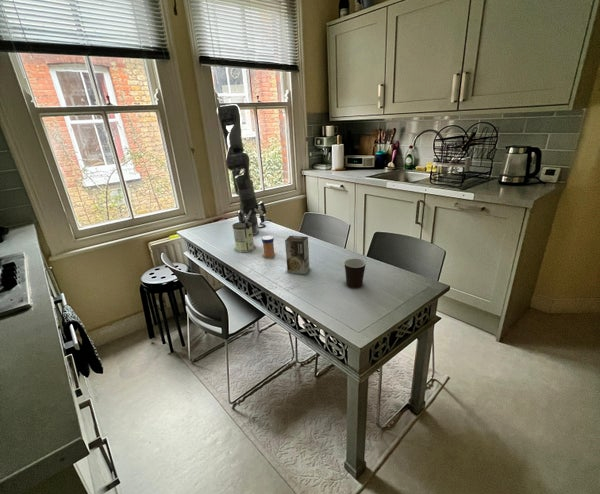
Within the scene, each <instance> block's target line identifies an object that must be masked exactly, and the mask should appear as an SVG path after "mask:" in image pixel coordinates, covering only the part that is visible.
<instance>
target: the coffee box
mask: <svg viewBox="0 0 600 494" xmlns="http://www.w3.org/2000/svg"><path fill="white" fill-rule="evenodd" d="M284 245H285V258H286V270H287V274H298V275H307V273H308V272H309V270H310V254H309V252H310V251H309V236H304V235H303V236H302V235H301V236H300V235H289V236H288V237H287V238H285V240H284Z"/></svg>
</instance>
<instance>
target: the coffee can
mask: <svg viewBox="0 0 600 494" xmlns="http://www.w3.org/2000/svg"><path fill="white" fill-rule="evenodd" d="M248 225H249V229H246V228H245V225H244V223H241V222H239V221H238V222H234V223H233V224H232V231H233V239H234V244H235V245H234V246H235V251H236V252H238V253H247V252H251V251H253V250H254V249H255V241H254V235H253V232H252V223H251V222H248Z"/></svg>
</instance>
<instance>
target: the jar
mask: <svg viewBox="0 0 600 494" xmlns="http://www.w3.org/2000/svg"><path fill="white" fill-rule="evenodd" d="M274 244H275V243H274V241H273V242H271V243H263V242H262V249H263V257H264V258H266V259H267V258H268V259H269V258H270V259H271V258H273V257H275V246H274Z"/></svg>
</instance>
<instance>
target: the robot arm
mask: <svg viewBox="0 0 600 494" xmlns="http://www.w3.org/2000/svg"><path fill="white" fill-rule="evenodd" d="M216 115H217V119H218V123H219V126H220V131H221V134H222V136H223V137H222V138H223V140H224V141H223V142H224V145H225V151H226V155H225V166H226V168H227V170H228V171H230V172H231V175H232V182H233V189H234V193H235V194H236V195H237V196H238V198H239V204H238V205H239V210H237V211H236V213H237V214H236V215H237V218H238V222H241V223H244V225H245V228H246V229H249V225H248V222H251V223H252V232H253V236H255V235H257V234H258V233H259V229H263V228H265V227H266V224H265V222H268V221H269V222H272V219H265V216H264V215H265V214H267V209H266V205H265V203H264V202H263V201H259V202H258V201H257V197H256V192H255V189H254V188H255V187H254V182H253V180H252V179H251V174H250V157H249V155H248V153H247V152H245V148H244V145H243V139H242V116H241V111H240V107H239V106H238V104H235V103H234V104H233V103H232V104H225V105H219V106H217V107H216ZM228 126H232V127H231V129H229V128H228ZM241 171H242V172H241ZM259 208H260V210H261V211H260V210H259ZM257 214H258V216H259V220H260V223H258V216H257ZM259 225H261V226H259Z"/></svg>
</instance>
